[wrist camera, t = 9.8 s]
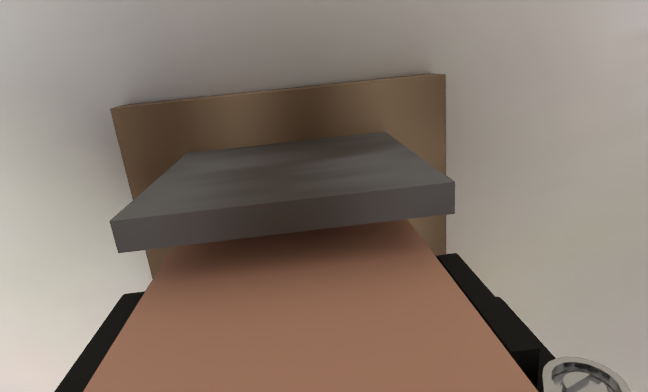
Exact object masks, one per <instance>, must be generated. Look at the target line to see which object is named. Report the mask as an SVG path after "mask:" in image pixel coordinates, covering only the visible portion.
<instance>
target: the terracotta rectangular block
mask: <svg viewBox="0 0 648 392" xmlns="http://www.w3.org/2000/svg"><path fill="white" fill-rule="evenodd" d="M83 392H538V391H537V389H536V388H535V387H534V385H533V384H532V383H531V381H530V380H529V379H528V378H527V376H526V375H525V374H524V372H523V371H522V370H521V368H520V367H519V366H518V364H517V363H516V362H515V360H514V359H513V358H512V356H511V355H510V354H509V352H508V351H507V350H506V349H505V347H504V346H503V345H502V343H501V342H500V341H499V339H498V338H497V337H496V335H495V334H494V333H493V331H492V330H491V329H490V327H489V326H488V325H487V324H486V322H485V321H484V320H483V318H482V317H481V316H480V314H479V313H478V312H477V310H476V309H475V308H474V306H473V305H472V304H471V302H470V301H469V300H468V298H467V297H466V296H465V295H464V293H463V292H462V291H461V289H460V288H459V287H458V285H457V284H456V283H455V281H454V280H453V279H452V277H451V276H450V275H449V273H448V272H447V271H446V269H445V268H444V267H443V266H442V264H441V263H440V262H439V260H438V259H437V258H436V256H435V255H434V254H433V252H432V251H431V250H430V248H429V247H428V246H427V244H426V243H425V242H424V240H423V239H422V238H421V237H420V235H419V234H418V233H417V231H416V230H415V229H414V227H413V226H412V225H411V223H410V222H409V221H408V219H404V220H395V221H387V222H378V223H370V224H361V225H353V226H344V227H336V228H327V229H319V230H310V231H302V232H293V233H285V234H276V235H268V236H259V237H251V238H242V239H234V240H225V241H216V242H208V243H199V244H191V245H182V246H174V247H173V248H172V249H171V251H170V252H169V254H168V256H167V257H166V259H165V261H164V262H163V264H162V265H161V267H160V269H159V270H158V272H157V273H156V275H155V277H154V278H153V280H152V281H151V283H150V285H149V286H148V288H147V289H146V291H145V293H144V294H143V296H142V298H141V299H140V301H139V302H138V304H137V306H136V307H135V309H134V310H133V312H132V314H131V315H130V317H129V318H128V320H127V322H126V323H125V325H124V327H123V328H122V330H121V331H120V333H119V335H118V336H117V338H116V339H115V341H114V343H113V344H112V346H111V347H110V349H109V351H108V352H107V354H106V355H105V357H104V359H103V360H102V362H101V364H100V365H99V367H98V368H97V370H96V372H95V373H94V375H93V376H92V378H91V380H90V381H89V383H88V384H87V386H86V388H85V389H84V391H83Z"/></svg>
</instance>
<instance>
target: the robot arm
mask: <svg viewBox="0 0 648 392" xmlns="http://www.w3.org/2000/svg"><path fill="white" fill-rule="evenodd" d="M436 258H437V259H438V260H439V262H440V263H441V264H442V266H443V267H444V268H445V269H446V271H447V272H448V273H449V275H450V276H451V277H452V279H453V280H454V281H455V283H456V284H457V285H458V287H459V288H460V289H461V291H462V292H463V293H464V295H465V296H466V297H467V298H468V300H469V301H470V302H471V304H472V305H473V306H474V308H475V309H476V310H477V312H478V313H479V314H480V316H481V317H482V318H483V320H484V321H485V322H486V324H487V325H488V326H489V327H490V329H491V330H492V331H493V333H494V334H495V335H496V337H497V338H498V339H499V341H500V342H501V343H502V345H503V346H504V347H505V349H506V350H507V351H508V352H509V354H510V355H511V356H512V358H513V359H514V360H515V362H516V363H517V364H518V366H519V367H520V368H521V370H522V371H523V372H524V374H525V375H526V376H527V378H528V379H529V380H530V381H531V383H532V384H533V385H534V387H535V388H536V389H537V391H538V392H631V390H630V388H629V387H628V385H627V383H626V382H625V381H624V380H623V379H622V378H621V377H620V376H619V375H618V374H617V373H615V372H614V371H612V370H610V369H609V368H607V367H606V366H603V365H601V364H599V363H596V362H594V361H591V360H587V359H583V358H577V357H562V358H555V357H554V356H553V355H552V354H551V353H550V352H549V351H548V349H547V348H546V347H545V346H544V345H543V344H542V343H541V342H540V341H539V340H538V338H537V337H536V336H535V335H534V334H533V333H532V332H531V331H530V330H529V328H528V327H527V326H526V325H525V324H524V323H523V322H522V321H521V320H520V318H519V317H518V316H517V315H516V314H515V313H514V312H513V311H512V310H511V308H510V307H509V306H508V305H507V304H506V303H505V302H504V301H503V300H502V299H501V298H500V297H495V296H494V295H493V294H492V293H491V292H490V290H489V289H488V288H487V287H486V286H485V285H484V284H483V282H482V281H481V280H480V279H479V278H478V277H477V276H476V275H475V273H474V272H473V271H472V270H471V269H470V268H469V267H468V265H467V264H466V263H465V262H464V261H463V260H462V259H461V257H460V256H459V255H458V254H457V253H453V254H445V255H437V256H436ZM144 293H145V292H137V293H129V294H124V295H123V296H122V297H121V298H120V300H119V301H118V303H117V304H116V305H115V307H114V308H113V310H112V311H111V313H110V314H109V315H108V317H107V318H106V320H105V321H104V322H103V324H102V325H101V327H100V328H99V329H98V331H97V332H96V334H95V335H94V337H93V338H92V339H91V341H90V342H89V344H88V345H87V346H86V348H85V349H84V351H83V352H82V354H81V355H80V356H79V358H78V359H77V361H76V362H75V363H74V365H73V366H72V368H71V369H70V370H69V372H68V373H67V375H66V376H65V378H64V379H63V380H62V382H61V383H60V385H59V386H58V387H57V389H56V390H55V392H83V391H84V389H85V388H86V386H87V384H88V383H89V381H90V380H91V378H92V376H93V375H94V373H95V372H96V370H97V368H98V367H99V365H100V364H101V362H102V360H103V359H104V357H105V355H106V354H107V352H108V351H109V349H110V347H111V346H112V344H113V343H114V341H115V339H116V338H117V336H118V335H119V333H120V331H121V330H122V328H123V327H124V325H125V323H126V322H127V320H128V318H129V317H130V315H131V314H132V312H133V310H134V309H135V307H136V306H137V304H138V302H139V301H140V299H141V298H142V296H143V294H144Z"/></svg>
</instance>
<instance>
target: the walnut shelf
mask: <svg viewBox="0 0 648 392" xmlns="http://www.w3.org/2000/svg"><path fill="white" fill-rule="evenodd" d="M110 110H111V114H112V118H113V122H114V126H115V130H116V134H117V138H118V142H119V146H120V150H121V154H122V158H123V162H124V166H125V170H126V174H127V178H128V182H129V186H130V190H131V194H132V198H133V201H132V202H131V203H130V204H129V205H127V206H126V207H125V208H124V209H123V210H122V211H121V212H119V213H118V214H117V215H116V216H115V217H114V218H113V219H112V220H110V224H111V228H112V231H113V235H114V239H115V242H116V246H117V250H118V253H123V252H131V251H140V250H146V254H147V258H148V262H149V266H150V270H151V274H152V278H154V277H155V275H156V273H157V272H158V270H159V269H160V267H161V265H162V264H163V262H164V261H165V259H166V257H167V256H168V254H169V252H170V251H171V249H172V248H173V247H174V246H182V245H191V244H199V243H208V242H216V241H225V240H234V239H242V238H251V237H259V236H268V235H276V234H285V233H293V232H302V231H310V230H319V229H327V228H336V227H344V226H353V225H361V224H370V223H378V222H387V221H395V220H404V219H408V221H409V222H410V223H411V225H412V226H413V227H414V229H415V230H416V231H417V233H418V234H419V235H420V237H421V238H422V239H423V240H424V242H425V243H426V244H427V246H428V247H429V248H430V250H431V251H432V252H433V254H434V255H435V256H437V255H445V254H446V214H455V182H454V181H453V180H451V179H450V178H449V177H447V176H446V76H445V74H424V75H414V76H404V77H395V78H385V79H375V80H365V81H355V82H345V83H335V84H326V85H316V86H306V87H296V88H286V89H276V90H266V91H257V92H247V93H237V94H227V95H217V96H207V97H198V98H188V99H178V100H168V101H158V102H148V103H138V104H129V105H123V106H119V107H115V108H111V109H110Z"/></svg>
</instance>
